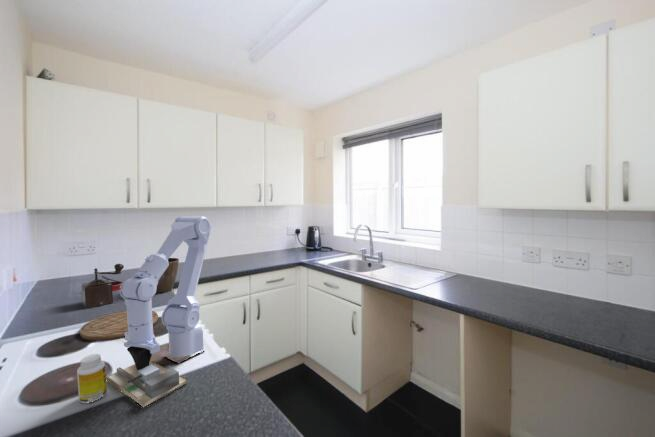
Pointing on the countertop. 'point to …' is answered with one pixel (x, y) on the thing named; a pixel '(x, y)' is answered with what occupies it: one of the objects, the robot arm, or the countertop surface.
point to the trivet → (108, 327)
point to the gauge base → (150, 388)
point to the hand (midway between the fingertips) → (143, 371)
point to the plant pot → (168, 276)
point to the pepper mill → (99, 290)
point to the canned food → (114, 284)
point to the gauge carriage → (146, 373)
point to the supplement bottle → (91, 378)
